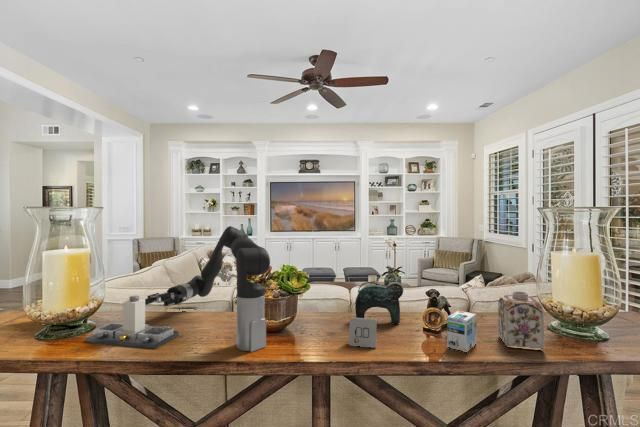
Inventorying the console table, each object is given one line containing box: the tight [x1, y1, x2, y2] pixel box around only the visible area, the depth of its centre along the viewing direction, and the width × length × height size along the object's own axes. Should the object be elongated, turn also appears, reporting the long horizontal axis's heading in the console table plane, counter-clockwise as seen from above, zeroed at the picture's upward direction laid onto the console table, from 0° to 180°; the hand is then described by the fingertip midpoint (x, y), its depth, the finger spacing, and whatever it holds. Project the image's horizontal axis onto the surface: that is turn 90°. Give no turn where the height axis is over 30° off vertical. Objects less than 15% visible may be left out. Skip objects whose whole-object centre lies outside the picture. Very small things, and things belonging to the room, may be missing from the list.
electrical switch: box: [348, 317, 378, 349], centre depth 120 cm, size 9×5×9 cm, turn 78°
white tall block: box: [122, 295, 146, 333], centre depth 124 cm, size 5×5×14 cm
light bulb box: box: [446, 310, 478, 351], centre depth 119 cm, size 11×7×11 cm, turn 139°
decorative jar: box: [497, 290, 545, 350], centre depth 121 cm, size 12×12×18 cm
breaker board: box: [85, 321, 180, 350], centre depth 124 cm, size 27×13×4 cm, turn 78°
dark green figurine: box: [354, 273, 404, 324], centre depth 145 cm, size 20×6×20 cm, turn 82°
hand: (154, 302), depth 135 cm, fingers open, 8 cm apart
